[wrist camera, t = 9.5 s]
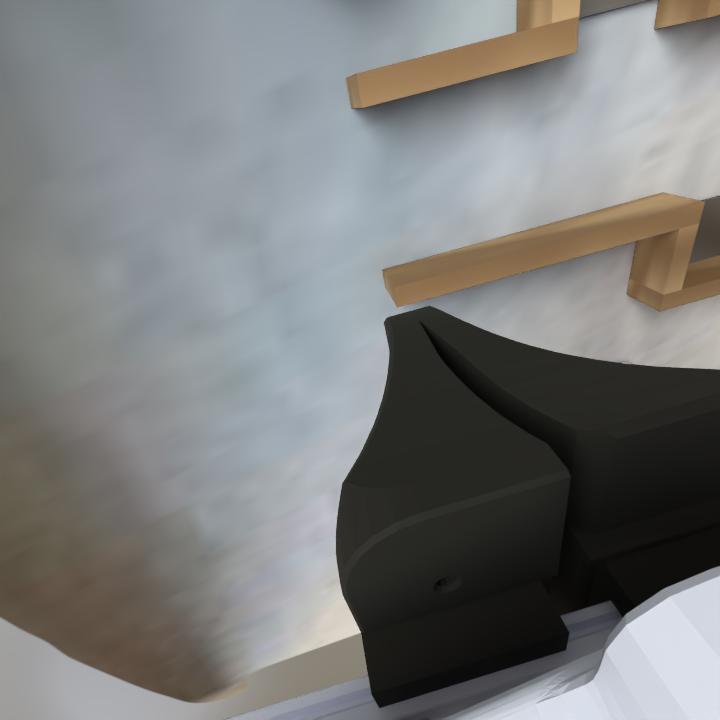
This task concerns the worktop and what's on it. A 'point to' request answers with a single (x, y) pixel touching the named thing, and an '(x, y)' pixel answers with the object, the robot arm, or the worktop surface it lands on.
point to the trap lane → (574, 235)
